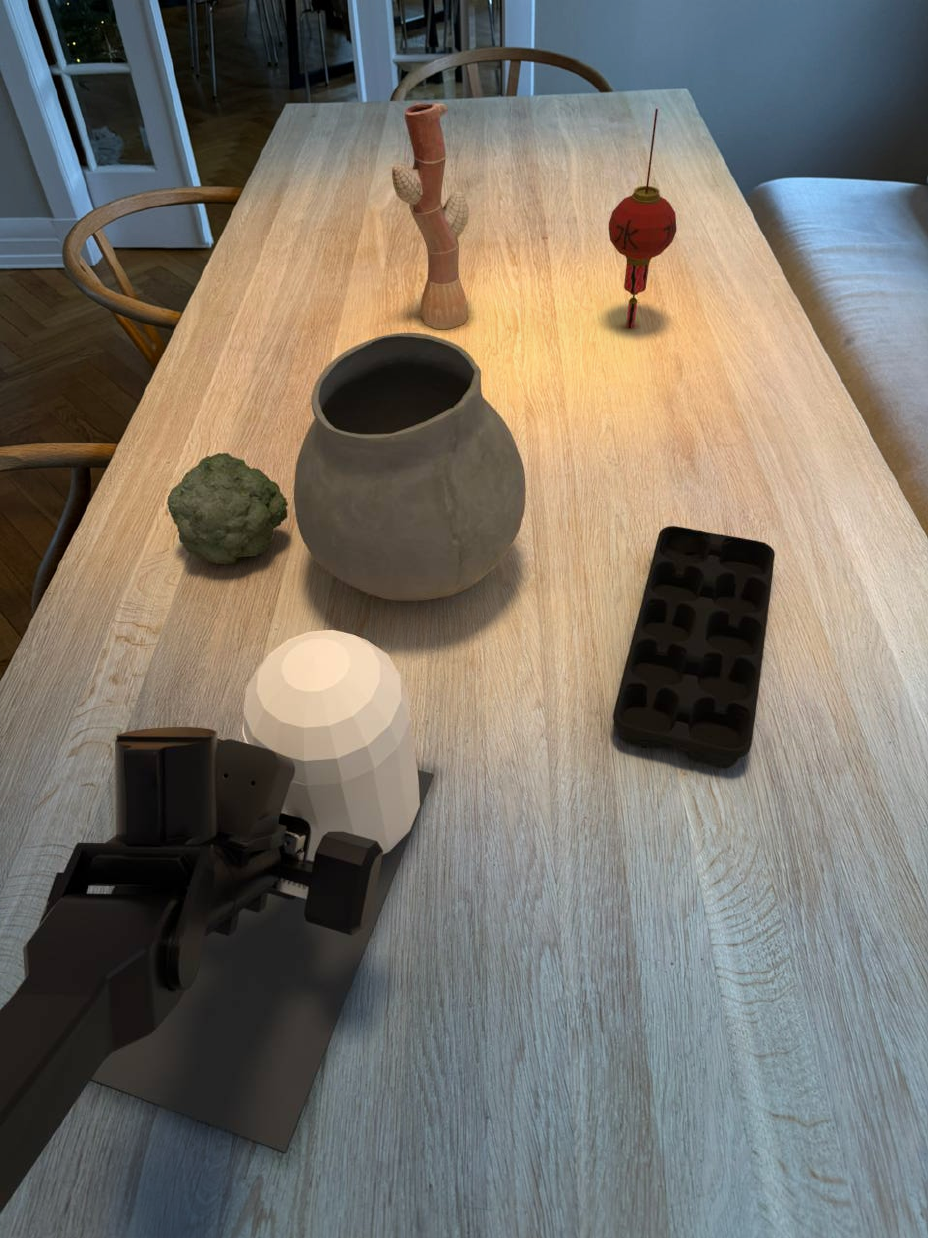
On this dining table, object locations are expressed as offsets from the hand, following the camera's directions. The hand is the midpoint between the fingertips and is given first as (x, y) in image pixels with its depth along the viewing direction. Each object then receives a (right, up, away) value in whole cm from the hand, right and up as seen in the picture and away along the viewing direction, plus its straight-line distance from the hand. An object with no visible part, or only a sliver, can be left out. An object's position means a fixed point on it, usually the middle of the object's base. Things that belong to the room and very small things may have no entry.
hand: (298, 823), depth 70 cm
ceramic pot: (+8, +23, +30) cm, 39 cm away
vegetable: (-14, +26, +34) cm, 45 cm away
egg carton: (+37, +13, +21) cm, 45 cm away
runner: (-2, -8, +3) cm, 9 cm away
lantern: (+38, +61, +63) cm, 96 cm away
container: (+3, 0, +10) cm, 10 cm away
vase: (+9, +63, +66) cm, 92 cm away
